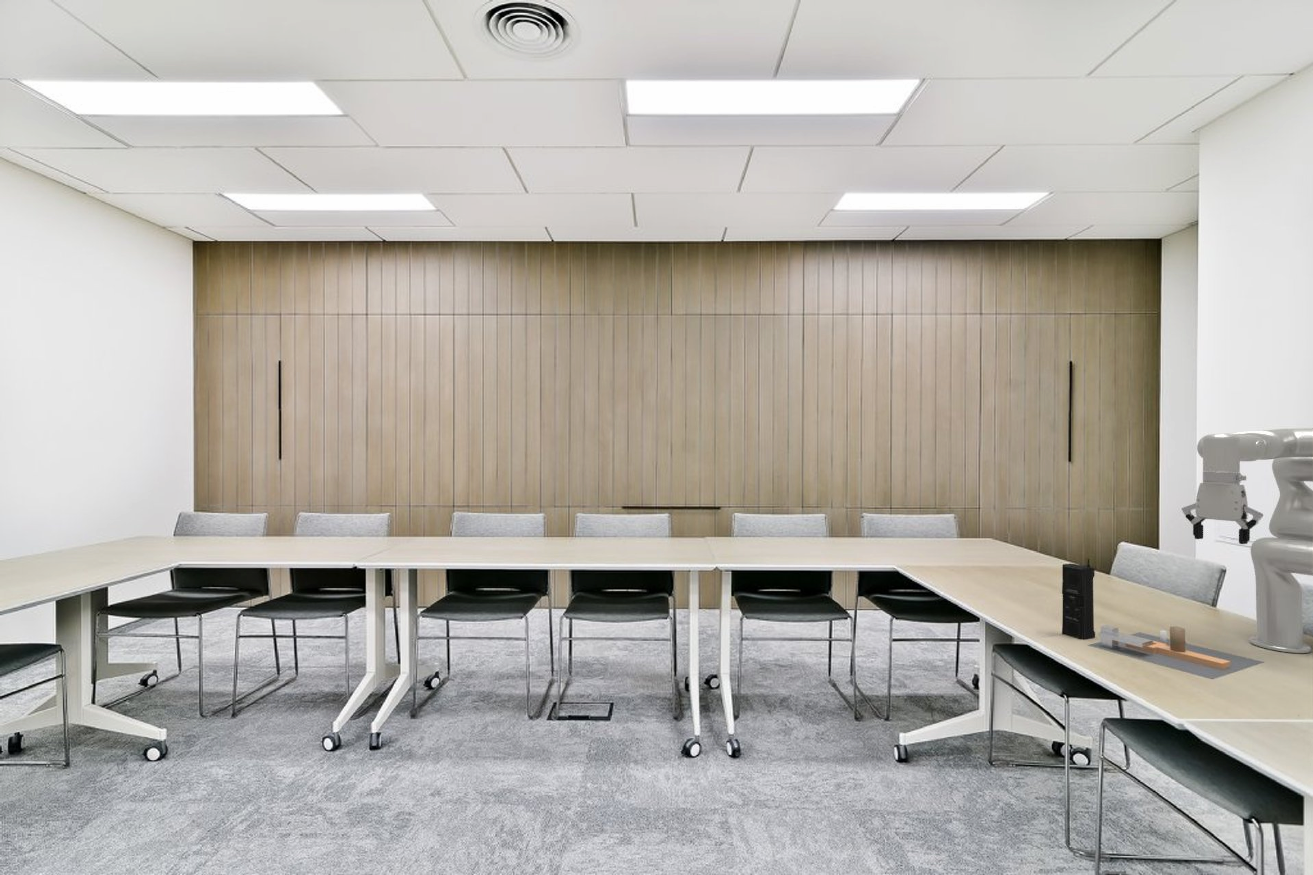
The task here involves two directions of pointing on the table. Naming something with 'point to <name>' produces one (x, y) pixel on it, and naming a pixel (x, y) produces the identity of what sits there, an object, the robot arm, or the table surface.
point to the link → (1182, 650)
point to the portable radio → (1078, 601)
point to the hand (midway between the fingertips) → (1220, 541)
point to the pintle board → (1179, 664)
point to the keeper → (1120, 638)
